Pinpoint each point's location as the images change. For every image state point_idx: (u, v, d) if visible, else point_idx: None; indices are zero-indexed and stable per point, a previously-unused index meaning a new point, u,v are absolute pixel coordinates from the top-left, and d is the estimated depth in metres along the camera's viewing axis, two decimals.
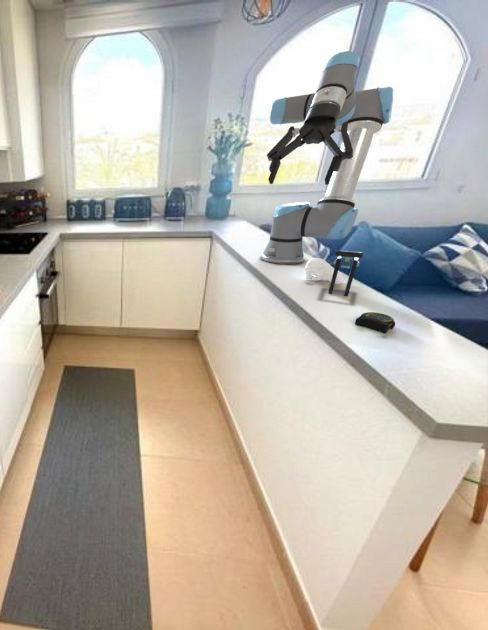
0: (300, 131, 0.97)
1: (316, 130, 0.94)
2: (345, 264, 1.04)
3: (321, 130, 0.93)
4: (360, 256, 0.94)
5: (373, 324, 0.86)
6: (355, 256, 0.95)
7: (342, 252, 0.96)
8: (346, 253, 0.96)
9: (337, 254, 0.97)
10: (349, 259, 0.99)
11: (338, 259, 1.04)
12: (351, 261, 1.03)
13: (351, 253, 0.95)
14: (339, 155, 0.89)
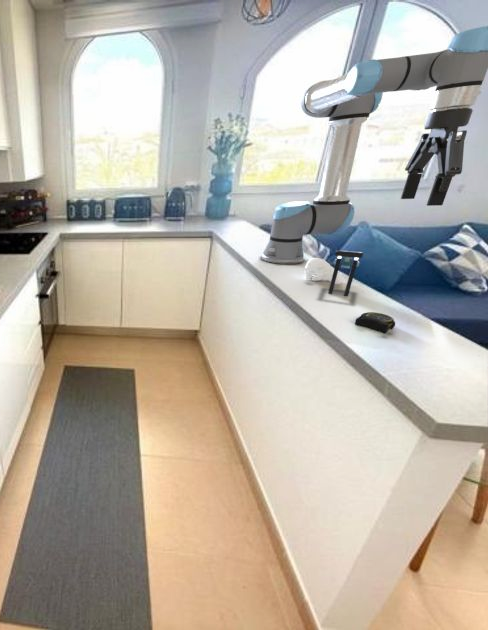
0: None
1: None
2: (345, 264, 1.04)
3: None
4: (360, 256, 0.94)
5: (373, 324, 0.86)
6: (355, 256, 0.95)
7: (342, 252, 0.96)
8: (346, 253, 0.96)
9: (337, 254, 0.97)
10: (349, 259, 0.99)
11: (338, 259, 1.04)
12: (351, 261, 1.03)
13: (351, 253, 0.95)
14: (420, 172, 0.94)
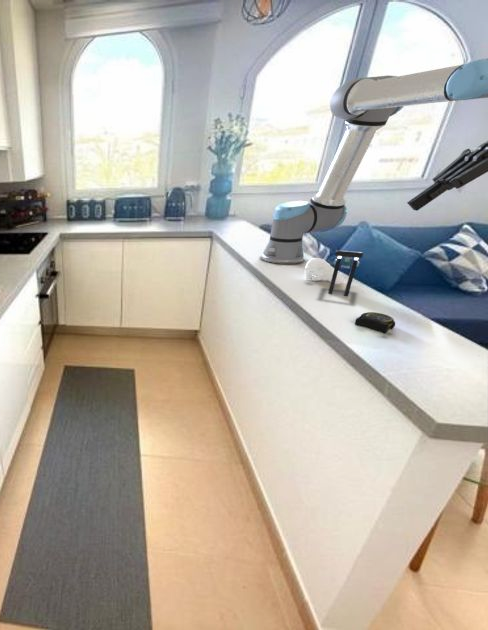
0: None
1: None
2: (345, 264, 1.04)
3: None
4: (360, 256, 0.94)
5: (373, 324, 0.86)
6: (355, 256, 0.95)
7: (342, 252, 0.96)
8: (346, 253, 0.96)
9: (337, 254, 0.97)
10: (349, 259, 0.99)
11: (338, 259, 1.04)
12: (351, 261, 1.03)
13: (351, 253, 0.95)
14: None
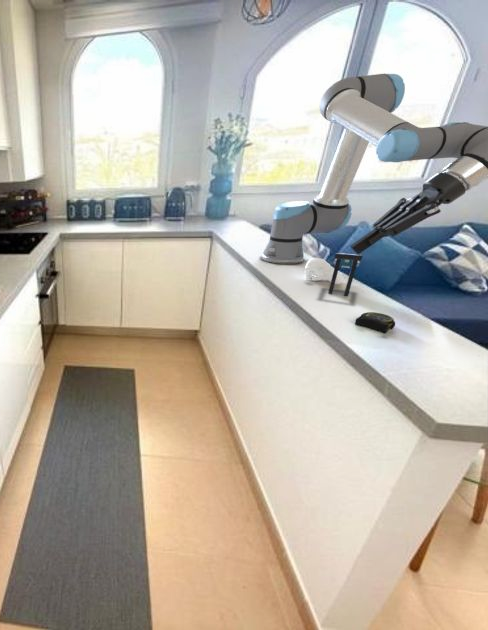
0: None
1: None
2: (345, 264, 1.04)
3: None
4: (359, 259, 0.94)
5: (373, 324, 0.86)
6: (354, 259, 0.95)
7: (341, 255, 0.96)
8: (345, 256, 0.96)
9: (336, 257, 0.97)
10: (349, 261, 0.99)
11: (338, 259, 1.04)
12: (351, 261, 1.03)
13: (350, 256, 0.95)
14: None
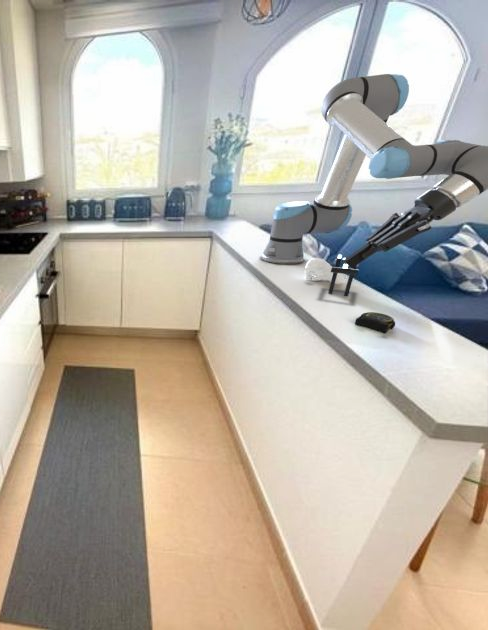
0: None
1: None
2: None
3: None
4: (355, 274, 0.95)
5: (373, 324, 0.86)
6: None
7: (337, 270, 0.97)
8: (341, 271, 0.97)
9: (332, 271, 0.98)
10: None
11: (338, 259, 1.04)
12: None
13: (346, 271, 0.96)
14: None
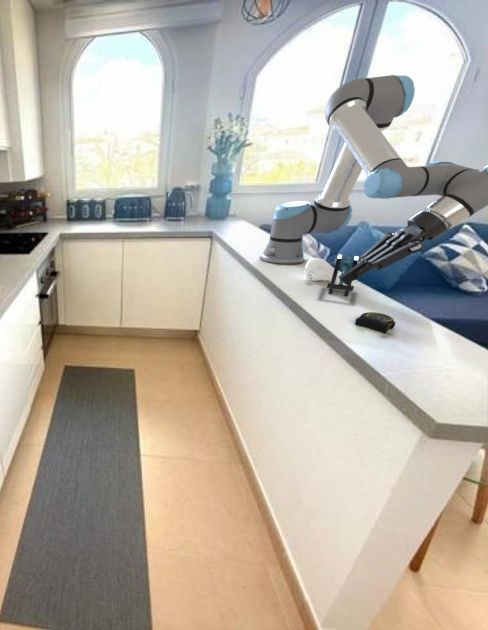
0: None
1: None
2: None
3: None
4: None
5: (373, 324, 0.86)
6: (345, 290, 0.99)
7: (333, 287, 1.00)
8: (337, 288, 1.00)
9: None
10: None
11: (338, 259, 1.04)
12: None
13: (341, 288, 0.99)
14: None
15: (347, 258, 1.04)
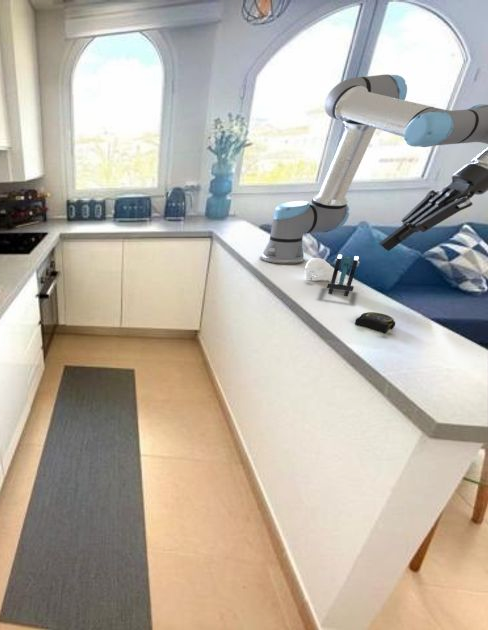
0: None
1: None
2: None
3: None
4: None
5: (373, 324, 0.86)
6: (345, 290, 0.99)
7: (333, 287, 1.00)
8: (337, 288, 1.00)
9: None
10: (343, 279, 1.01)
11: (338, 259, 1.04)
12: None
13: (341, 288, 0.99)
14: None
15: (347, 258, 1.04)
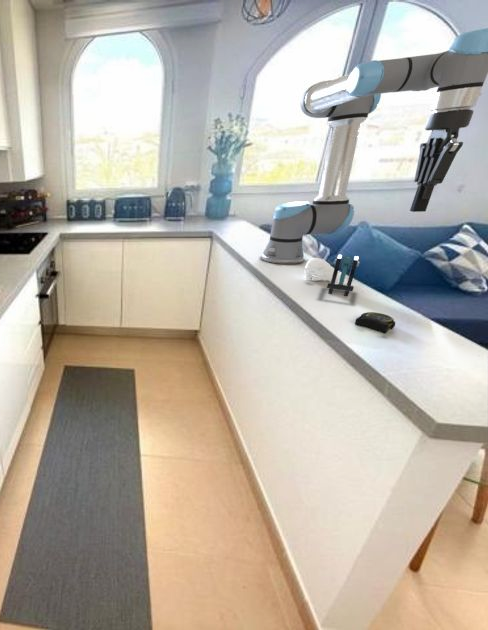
0: None
1: None
2: None
3: None
4: None
5: (373, 324, 0.86)
6: (345, 290, 0.99)
7: (333, 287, 1.00)
8: (337, 288, 1.00)
9: None
10: (343, 279, 1.01)
11: (338, 259, 1.04)
12: None
13: (341, 288, 0.99)
14: None
15: (347, 258, 1.04)
